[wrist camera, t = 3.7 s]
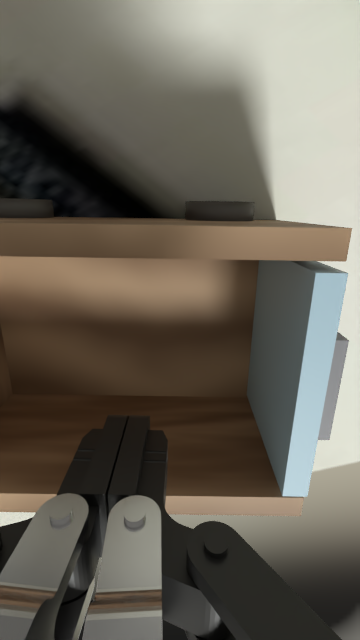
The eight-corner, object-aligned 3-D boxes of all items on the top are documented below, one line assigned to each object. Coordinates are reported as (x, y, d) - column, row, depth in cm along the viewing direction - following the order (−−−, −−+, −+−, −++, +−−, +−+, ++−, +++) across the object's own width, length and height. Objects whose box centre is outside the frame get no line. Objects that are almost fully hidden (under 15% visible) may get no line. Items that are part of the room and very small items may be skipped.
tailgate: (260, 246, 21) (315, 272, 12) (291, 247, 21) (369, 273, 12) (246, 394, 24) (282, 496, 16) (273, 395, 24) (323, 496, 16)
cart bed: (-31, 199, 21) (-206, 190, 12) (277, 203, 21) (356, 199, 12) (8, 410, 26) (-91, 525, 17) (255, 414, 26) (298, 530, 17)
